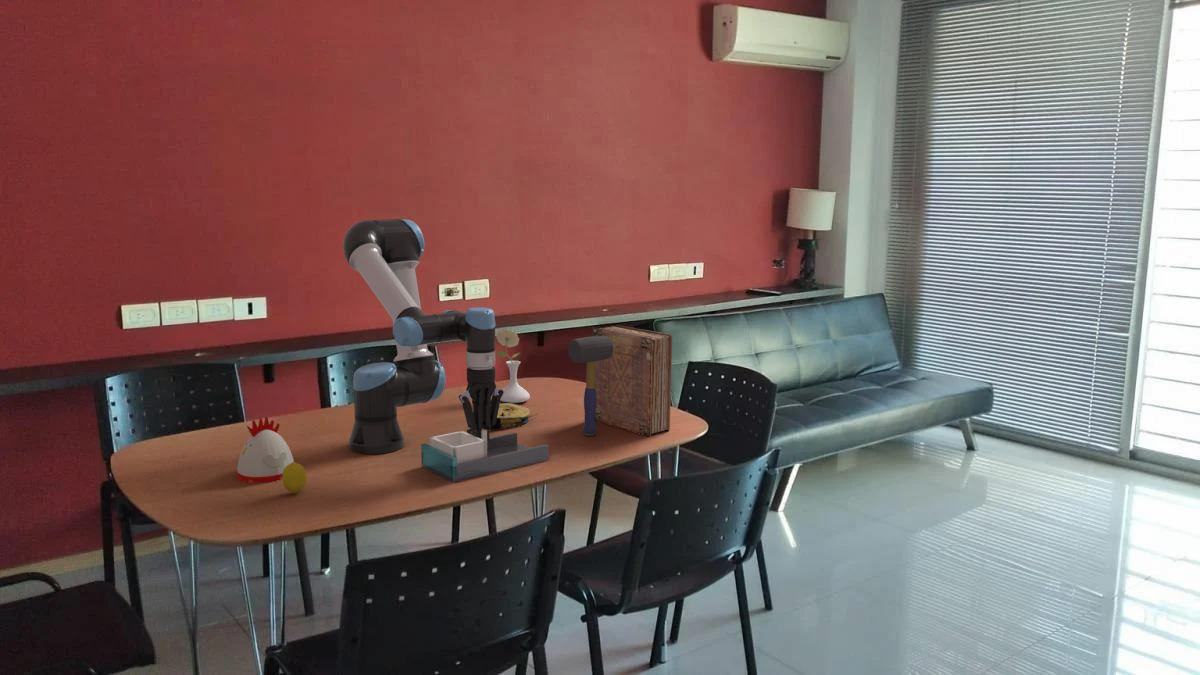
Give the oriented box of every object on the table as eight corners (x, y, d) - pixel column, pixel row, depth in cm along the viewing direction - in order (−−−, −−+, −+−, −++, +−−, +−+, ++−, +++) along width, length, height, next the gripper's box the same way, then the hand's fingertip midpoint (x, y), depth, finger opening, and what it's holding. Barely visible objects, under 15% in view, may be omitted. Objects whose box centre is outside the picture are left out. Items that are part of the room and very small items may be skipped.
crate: (453, 474, 229) (453, 448, 228) (430, 462, 238) (429, 437, 237) (486, 466, 235) (486, 441, 234) (462, 455, 244) (462, 430, 243)
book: (670, 431, 275) (673, 334, 270) (649, 437, 269) (652, 338, 264) (612, 415, 293) (613, 324, 288) (591, 420, 287) (592, 327, 282)
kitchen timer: (228, 473, 232) (225, 417, 229) (280, 462, 241) (277, 408, 239) (252, 487, 222) (248, 428, 219) (304, 474, 232) (301, 418, 229)
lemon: (310, 489, 220) (308, 458, 219) (303, 497, 215) (301, 465, 214) (287, 489, 220) (285, 458, 219) (280, 497, 215) (278, 465, 213)
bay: (452, 482, 227) (452, 459, 226) (421, 466, 239) (421, 444, 238) (548, 460, 246) (548, 438, 245) (514, 446, 258) (514, 425, 257)
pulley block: (451, 414, 267) (505, 393, 294) (449, 432, 268) (503, 410, 295) (491, 427, 261) (542, 405, 288) (488, 446, 263) (540, 422, 289)
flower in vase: (536, 400, 311) (536, 329, 307) (516, 407, 302) (516, 333, 297) (506, 395, 318) (506, 325, 313) (486, 401, 308) (485, 329, 304)
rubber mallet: (579, 441, 264) (580, 340, 258) (565, 435, 270) (566, 336, 264) (613, 435, 271) (615, 336, 265) (599, 429, 277) (601, 332, 271)
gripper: (467, 372, 230) (469, 461, 234) (509, 365, 238) (510, 451, 243) (452, 367, 236) (453, 454, 240) (493, 361, 244) (494, 445, 248)
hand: (482, 452), depth 241 cm, fingers closed
